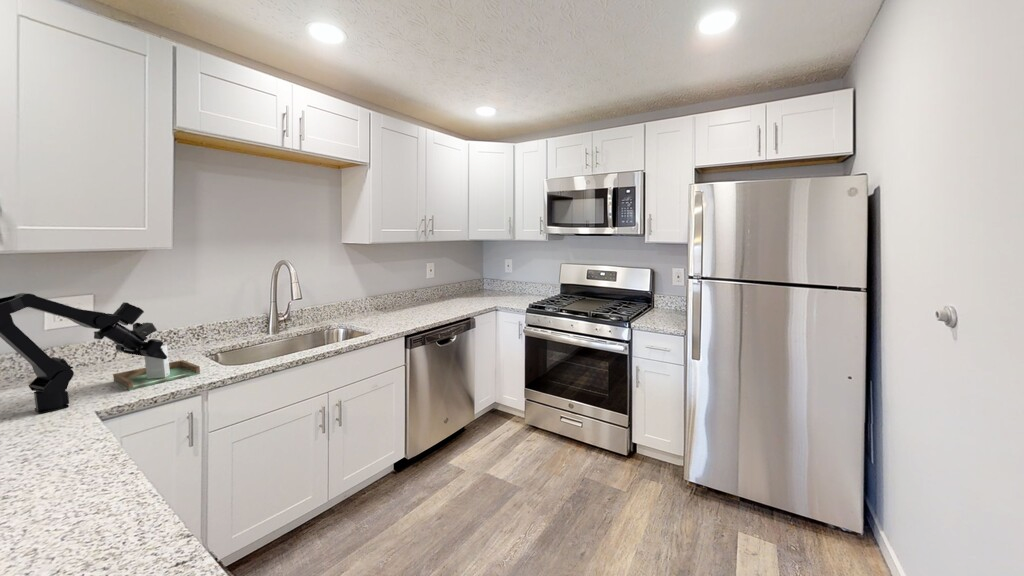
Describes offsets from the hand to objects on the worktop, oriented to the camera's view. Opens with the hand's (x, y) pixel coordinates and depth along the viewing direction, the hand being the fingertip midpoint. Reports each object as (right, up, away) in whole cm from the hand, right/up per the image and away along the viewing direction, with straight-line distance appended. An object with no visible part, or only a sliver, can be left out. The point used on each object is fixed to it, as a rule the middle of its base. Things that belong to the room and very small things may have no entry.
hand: (158, 357), depth 162 cm
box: (-1, -8, +1) cm, 8 cm away
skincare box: (0, -8, +1) cm, 8 cm away
